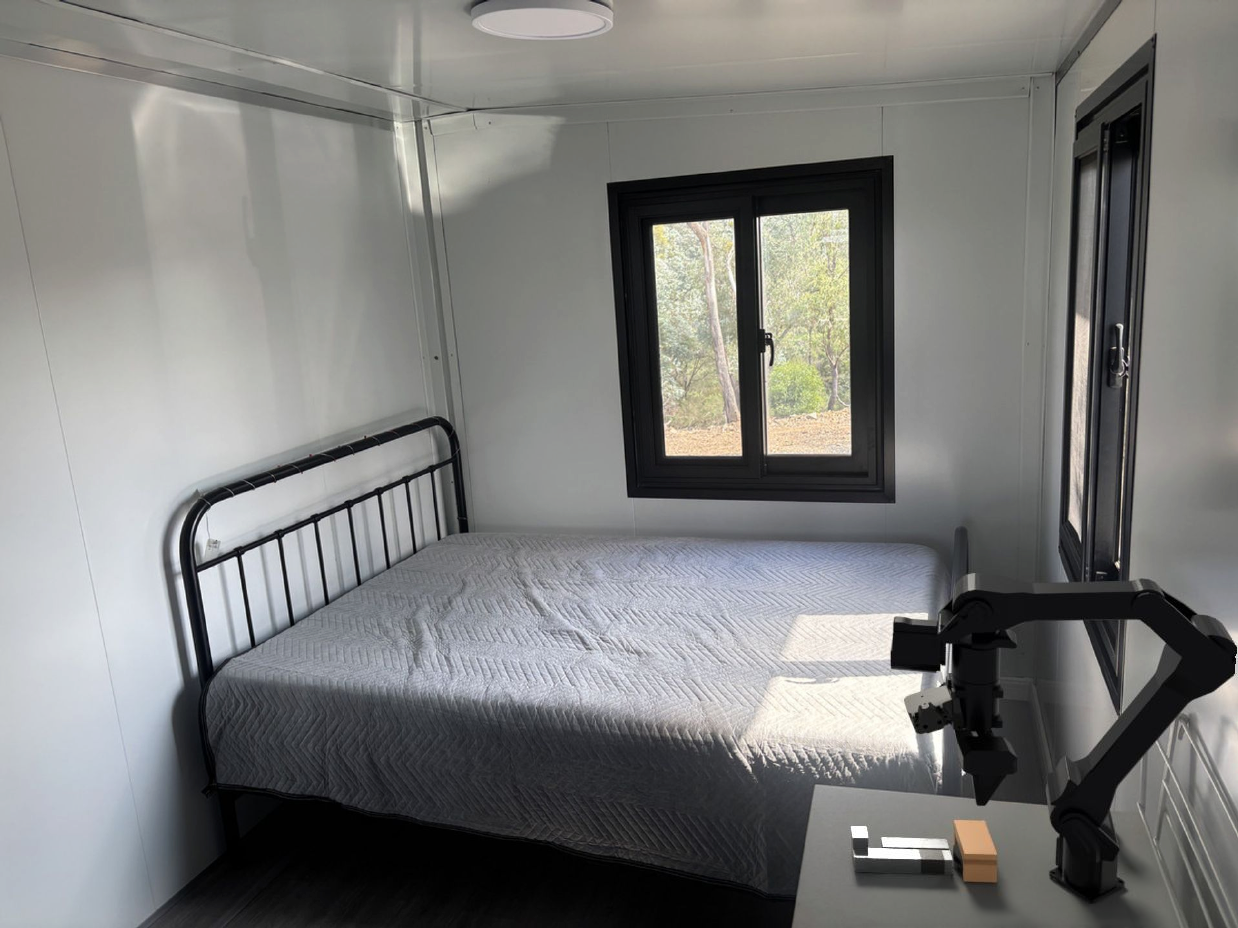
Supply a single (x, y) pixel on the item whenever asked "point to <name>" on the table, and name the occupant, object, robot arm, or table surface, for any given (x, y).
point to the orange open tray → (976, 851)
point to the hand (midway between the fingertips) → (973, 784)
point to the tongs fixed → (925, 847)
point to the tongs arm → (897, 858)
